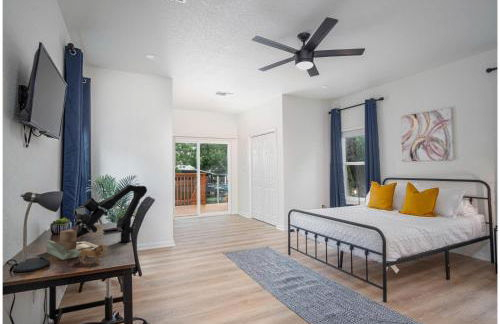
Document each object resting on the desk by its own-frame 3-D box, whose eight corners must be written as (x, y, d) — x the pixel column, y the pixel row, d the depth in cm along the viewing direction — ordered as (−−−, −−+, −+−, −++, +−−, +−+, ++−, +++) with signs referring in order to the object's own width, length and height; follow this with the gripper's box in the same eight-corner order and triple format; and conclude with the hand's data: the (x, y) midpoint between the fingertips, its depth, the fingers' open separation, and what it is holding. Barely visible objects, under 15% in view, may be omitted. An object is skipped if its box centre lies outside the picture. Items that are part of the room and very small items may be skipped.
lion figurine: (107, 259, 154) (107, 242, 154) (105, 263, 149) (105, 245, 149) (76, 261, 150) (76, 244, 150) (72, 265, 145) (73, 246, 145)
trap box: (84, 245, 183) (84, 234, 183) (101, 251, 169) (102, 240, 170) (46, 252, 167) (46, 240, 167) (62, 259, 153) (63, 247, 153)
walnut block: (70, 246, 170) (71, 229, 170) (76, 248, 166) (76, 230, 166) (59, 248, 165) (60, 230, 165) (64, 250, 161) (65, 232, 161)
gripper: (78, 207, 179) (57, 227, 169) (92, 209, 167) (70, 232, 158) (91, 218, 185) (71, 239, 175) (105, 221, 173) (85, 244, 164)
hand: (74, 238), depth 168 cm, fingers closed
